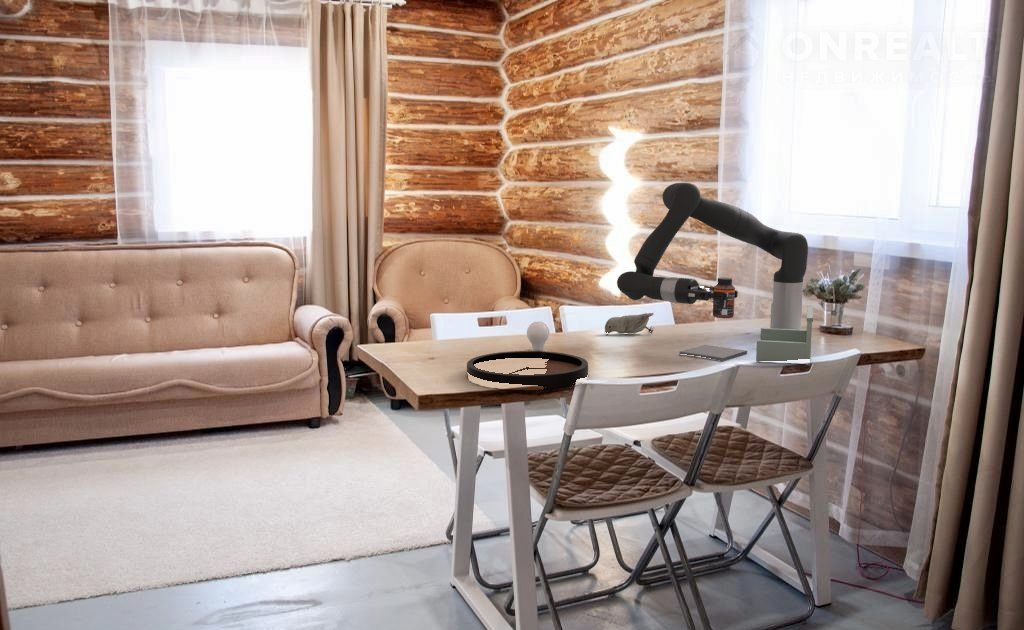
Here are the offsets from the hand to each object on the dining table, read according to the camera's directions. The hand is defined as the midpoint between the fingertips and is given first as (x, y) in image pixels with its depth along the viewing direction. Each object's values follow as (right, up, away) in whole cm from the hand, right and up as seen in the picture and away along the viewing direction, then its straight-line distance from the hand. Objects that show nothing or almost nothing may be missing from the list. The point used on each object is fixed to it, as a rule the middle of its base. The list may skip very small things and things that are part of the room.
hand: (731, 295), depth 244 cm
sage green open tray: (+16, -17, +3) cm, 23 cm away
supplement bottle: (-2, -6, +3) cm, 7 cm away
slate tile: (-4, -17, +5) cm, 18 cm away
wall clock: (-59, -22, -21) cm, 66 cm away
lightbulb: (-55, -19, -1) cm, 58 cm away
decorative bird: (-24, -12, +39) cm, 47 cm away
